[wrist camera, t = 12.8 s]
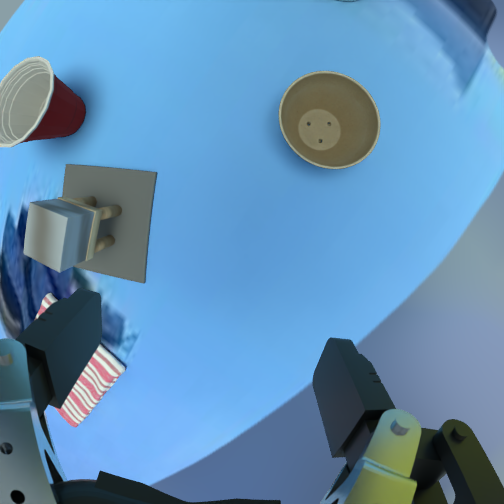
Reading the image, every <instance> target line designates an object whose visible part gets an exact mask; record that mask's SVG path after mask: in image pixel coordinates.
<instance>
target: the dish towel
mask: <svg viewBox="0 0 504 504" xmlns="http://www.w3.org/2000/svg"><path fill="white" fill-rule="evenodd" d="M56 301H58V300H57V299H56V298H55V297H54V296H53V295H52V293H48V294H47V295H46V296H45V298H44V299H43V301H42V304H41V308H40V310H39V312H38V313H37V316H36V319H38V317H39V316H40V315H41V314H42V313H43V312H45V310H46V309H47V308H48V307H49V306H50V305H51V304H52V303H54V302H56ZM125 370H126V368H125V366H124V365H123V364H122V363H121V362H120V361H118V360H117V359H116V358H115V357H114V356H113V355H112V354H111V353H110V352H109V351H108V350H106V349H105V348H104V347H103V346H102V345H101V344H99V346H98V348H97V350H96V351H95V353H94V354H93V356H92V358H91V359H90V361H89V362H88V364H87V366H86V367H85V369H84V370H83V372H82V374H81V375H80V377H79V378H78V380H77V382H76V383H75V385H74V387H73V388H72V390H71V392H70V393H69V395H68V397H67V399H66V400H65V402H64V404H63V405H62V407H61V409H58V408H56V407H55V408H56V409H57V411H58V412H59V413H60V415H61V416H62V417H63V418H64V419H65V420H66V421H67V422H68V423H69V424H70V425H71V426H73V427H77V426H78V424H79V423H81V422H82V421H83V420H84V419H85V418H86V417H87V416H88V415H89V414H90V413H91V411H92V409H93V408H94V407H95V406H96V405H97V403H98V402H99V401H100V400H101V398H102V397H103V395H104V394H105V393H106V391H107V390H109V389H110V387H111V386H112V385H113V384H114V383H115V381H116V380H117V379H118V377H119V376H120V375H121V374H122V373H123V372H124V371H125Z"/></svg>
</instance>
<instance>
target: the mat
mask: <svg viewBox="0 0 504 504" xmlns="http://www.w3.org/2000/svg"><path fill="white" fill-rule="evenodd" d="M156 177H157V172H148V171H139V170H130V169H120V168H109V167H98V166H85V165H70V164H66V168H65V176H64V185H63V195H62V197H68V198H70V199H74V198H83V197H92V196H93V197H95V198H96V200H97V204H96V206H95V208H102V207H108V206H114V205H119V206H120V207H121V208H122V213H121V215H119V216H116V217H112V218H108V219H104V220H100V224H99V229H98V234H97V239H99V238H102V237H105V236H108V235H112V236H113V237H114V238H115V243H114V244H113V245H112V246H110V247H107V248H105V249H103V250H100V251H98V252H96V253H94V255H93V258H92V259H90V260H88V261H83V262H80V263H78V264H76V265H74V266H73V267H77V268H81V269H85V270H89V271H93V272H97V273H101V274H105V275H109V276H114V277H118V278H122V279H127V280H131V281H135V282H140V283H145V278H146V264H147V252H148V241H149V231H150V222H151V214H152V205H153V198H154V190H155V183H156ZM97 239H96V240H97Z"/></svg>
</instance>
